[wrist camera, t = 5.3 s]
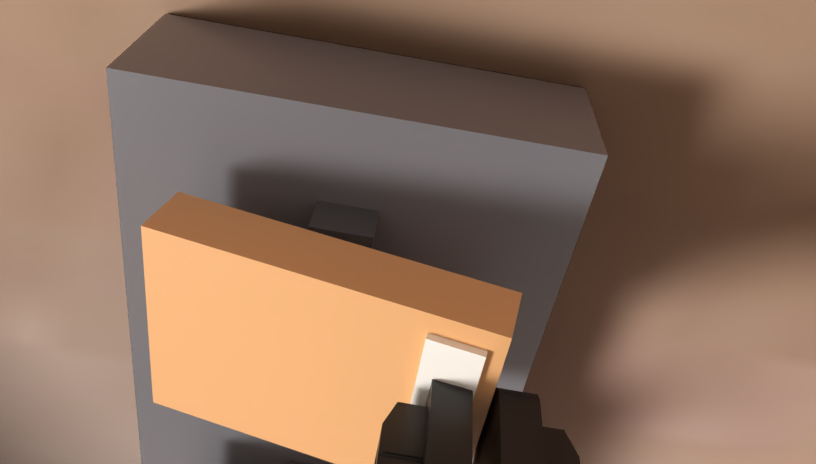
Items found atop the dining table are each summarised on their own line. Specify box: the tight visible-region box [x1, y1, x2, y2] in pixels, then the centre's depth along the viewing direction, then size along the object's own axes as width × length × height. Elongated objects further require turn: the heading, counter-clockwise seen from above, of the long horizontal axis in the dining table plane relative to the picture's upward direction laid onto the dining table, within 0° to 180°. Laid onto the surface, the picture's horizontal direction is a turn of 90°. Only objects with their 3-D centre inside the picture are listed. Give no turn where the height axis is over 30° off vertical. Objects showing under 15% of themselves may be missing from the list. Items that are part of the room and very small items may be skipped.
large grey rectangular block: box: [106, 14, 608, 464], centre depth 18 cm, size 16×9×4 cm, turn 171°
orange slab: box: [141, 192, 522, 464], centre depth 13 cm, size 4×6×1 cm
